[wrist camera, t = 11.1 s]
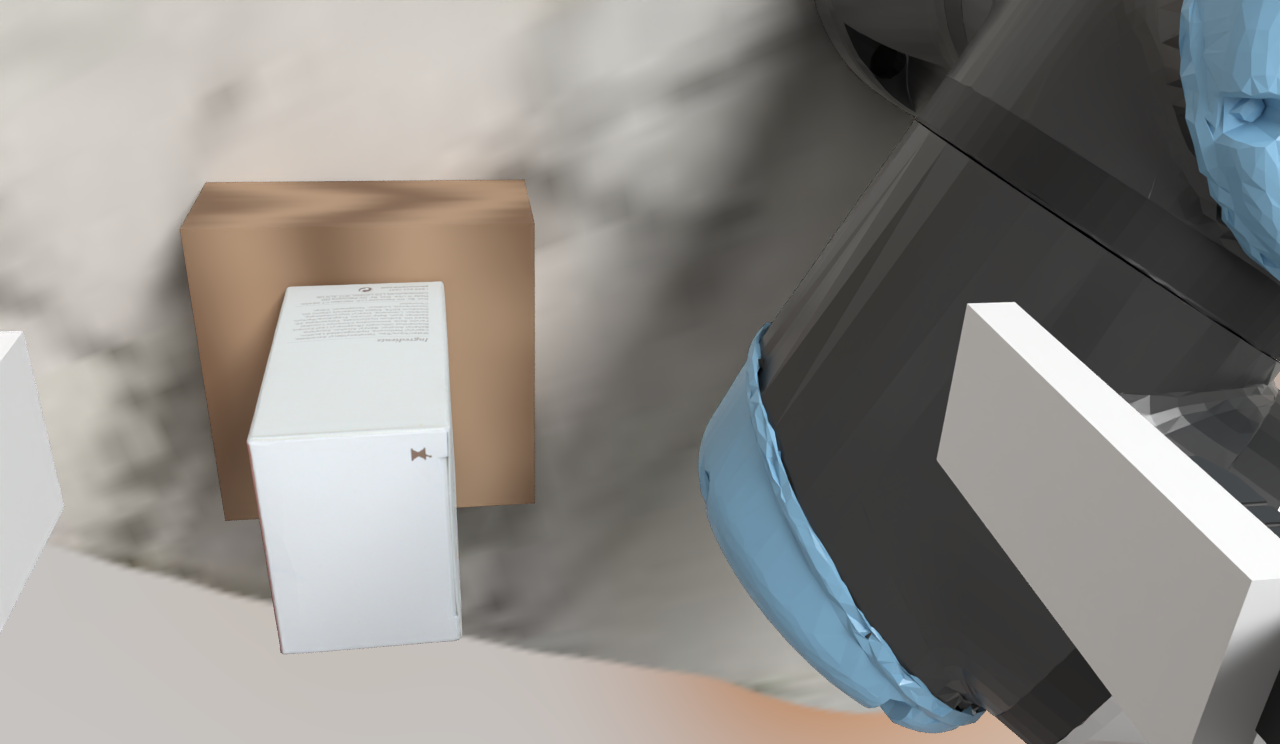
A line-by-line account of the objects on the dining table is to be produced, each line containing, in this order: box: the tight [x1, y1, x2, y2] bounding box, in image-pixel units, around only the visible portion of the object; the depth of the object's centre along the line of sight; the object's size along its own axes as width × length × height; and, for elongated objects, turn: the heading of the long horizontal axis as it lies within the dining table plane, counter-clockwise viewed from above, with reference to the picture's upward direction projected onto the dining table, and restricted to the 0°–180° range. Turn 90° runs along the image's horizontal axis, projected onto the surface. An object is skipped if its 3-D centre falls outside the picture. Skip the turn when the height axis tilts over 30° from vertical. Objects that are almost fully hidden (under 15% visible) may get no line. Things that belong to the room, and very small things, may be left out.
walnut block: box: [180, 180, 535, 521], centre depth 44 cm, size 12×12×5 cm
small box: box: [247, 281, 462, 654], centre depth 37 cm, size 8×6×10 cm
